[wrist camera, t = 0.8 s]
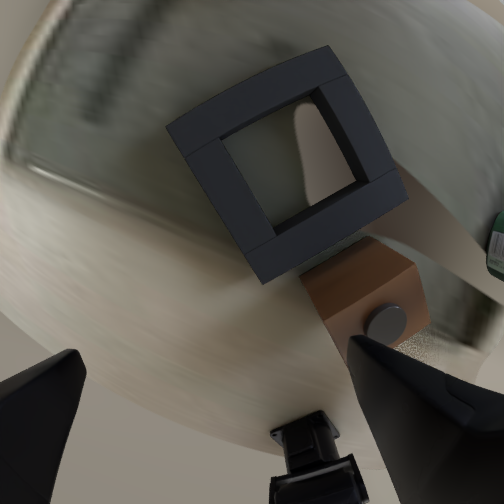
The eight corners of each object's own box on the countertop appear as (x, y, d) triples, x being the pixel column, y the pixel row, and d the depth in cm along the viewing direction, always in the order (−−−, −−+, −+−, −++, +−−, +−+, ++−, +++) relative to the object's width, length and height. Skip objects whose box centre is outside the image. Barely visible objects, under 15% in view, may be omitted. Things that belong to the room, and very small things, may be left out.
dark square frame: (392, 195, 21) (409, 198, 18) (259, 272, 22) (262, 285, 19) (319, 56, 17) (328, 44, 15) (173, 131, 19) (164, 126, 16)
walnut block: (387, 284, 23) (435, 326, 15) (323, 322, 23) (353, 379, 16) (368, 235, 21) (421, 266, 14) (298, 276, 22) (325, 326, 15)
